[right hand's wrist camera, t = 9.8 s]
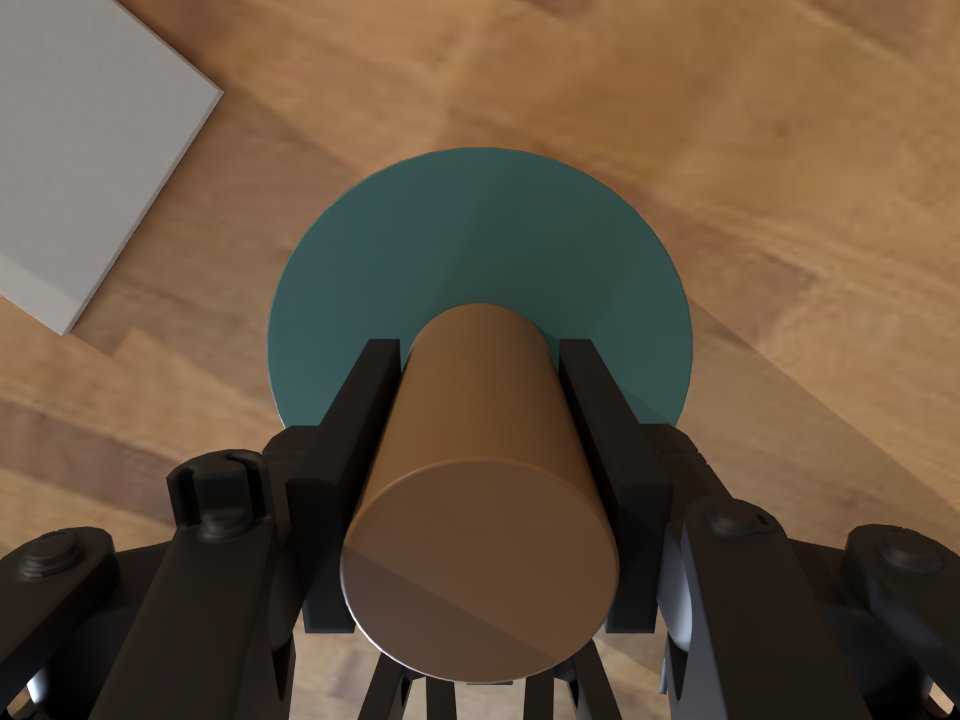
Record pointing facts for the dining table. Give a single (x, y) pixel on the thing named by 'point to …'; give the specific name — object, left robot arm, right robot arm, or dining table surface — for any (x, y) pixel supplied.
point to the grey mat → (84, 144)
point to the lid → (479, 396)
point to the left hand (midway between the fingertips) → (489, 553)
